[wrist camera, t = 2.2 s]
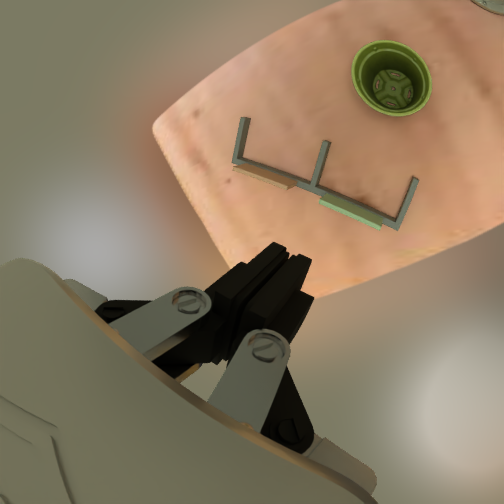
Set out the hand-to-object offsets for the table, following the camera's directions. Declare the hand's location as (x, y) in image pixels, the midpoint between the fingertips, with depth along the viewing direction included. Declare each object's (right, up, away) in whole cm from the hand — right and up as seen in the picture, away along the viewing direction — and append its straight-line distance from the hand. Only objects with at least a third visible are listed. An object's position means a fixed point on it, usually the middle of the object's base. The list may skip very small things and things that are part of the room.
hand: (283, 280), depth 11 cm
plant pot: (+18, +24, +18) cm, 35 cm away
